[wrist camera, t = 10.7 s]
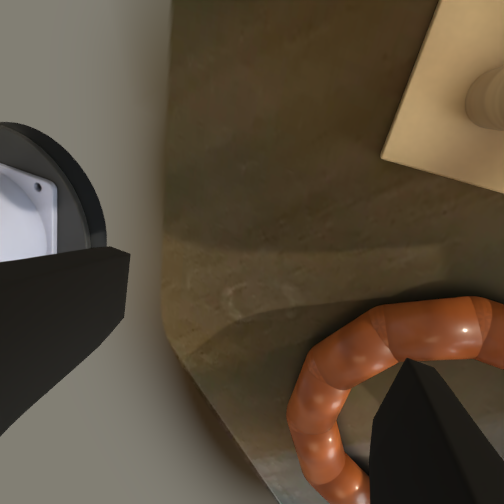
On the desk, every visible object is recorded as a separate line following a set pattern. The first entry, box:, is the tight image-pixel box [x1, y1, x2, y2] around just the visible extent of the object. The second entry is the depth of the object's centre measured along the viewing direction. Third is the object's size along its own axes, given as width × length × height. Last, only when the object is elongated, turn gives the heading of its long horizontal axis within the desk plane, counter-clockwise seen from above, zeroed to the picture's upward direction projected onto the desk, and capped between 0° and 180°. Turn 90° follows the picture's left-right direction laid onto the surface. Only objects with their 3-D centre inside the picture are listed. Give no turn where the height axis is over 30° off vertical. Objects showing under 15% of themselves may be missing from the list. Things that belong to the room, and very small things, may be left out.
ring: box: [286, 296, 504, 504], centre depth 18 cm, size 16×16×3 cm
